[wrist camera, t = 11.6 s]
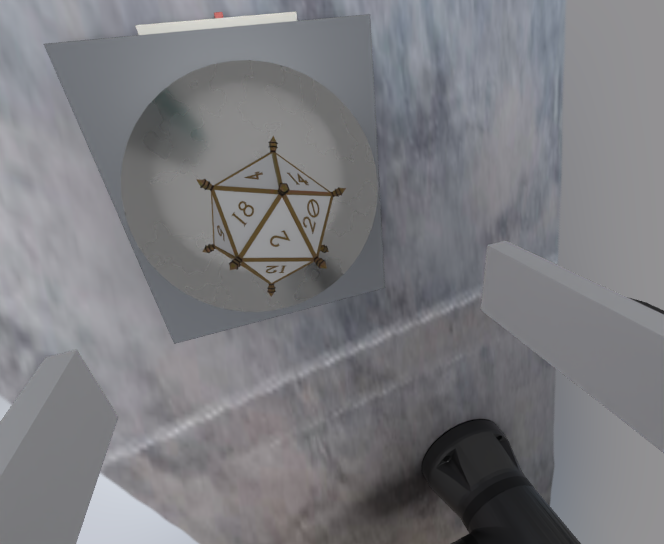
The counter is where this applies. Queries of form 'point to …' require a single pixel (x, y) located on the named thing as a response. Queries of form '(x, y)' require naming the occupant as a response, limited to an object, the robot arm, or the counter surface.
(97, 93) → the scale
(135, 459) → the counter surface
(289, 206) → the game die
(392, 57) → the counter surface
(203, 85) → the pan
